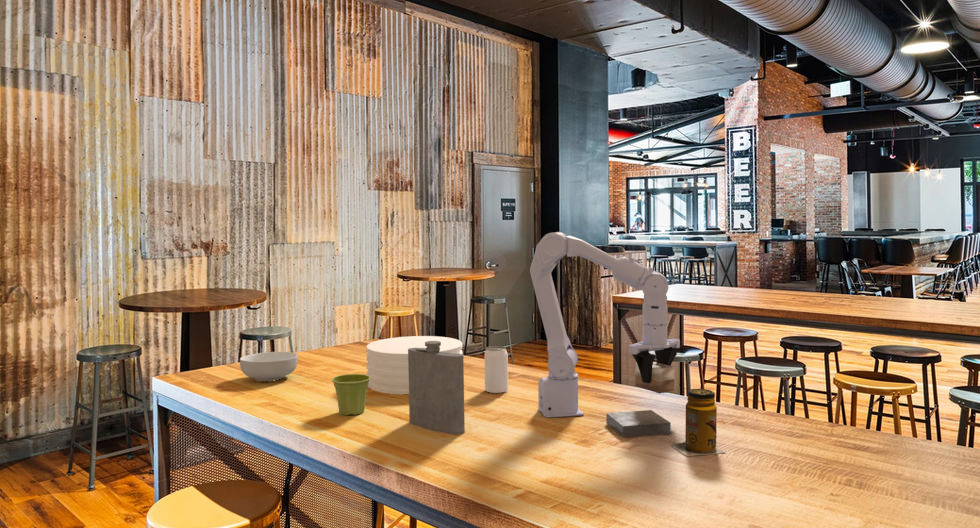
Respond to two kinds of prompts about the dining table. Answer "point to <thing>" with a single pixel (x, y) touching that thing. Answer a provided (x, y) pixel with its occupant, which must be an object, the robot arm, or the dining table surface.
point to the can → (496, 369)
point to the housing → (657, 378)
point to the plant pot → (351, 392)
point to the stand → (638, 423)
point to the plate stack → (399, 360)
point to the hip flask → (436, 389)
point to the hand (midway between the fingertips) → (654, 380)
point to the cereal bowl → (269, 365)
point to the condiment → (699, 424)
